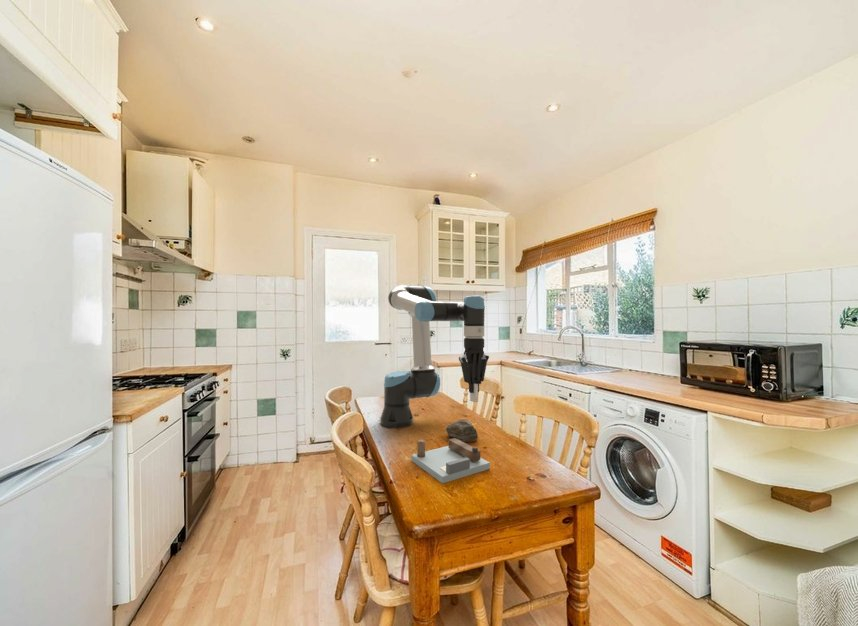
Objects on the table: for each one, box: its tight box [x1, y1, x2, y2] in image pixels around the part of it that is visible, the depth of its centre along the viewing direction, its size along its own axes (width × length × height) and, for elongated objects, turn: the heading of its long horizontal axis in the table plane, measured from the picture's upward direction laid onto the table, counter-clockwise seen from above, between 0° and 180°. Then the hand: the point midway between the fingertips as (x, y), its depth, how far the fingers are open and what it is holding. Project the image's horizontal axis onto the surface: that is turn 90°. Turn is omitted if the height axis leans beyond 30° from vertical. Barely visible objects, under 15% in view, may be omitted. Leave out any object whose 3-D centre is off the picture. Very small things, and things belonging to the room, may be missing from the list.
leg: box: [447, 437, 481, 462], centre depth 120 cm, size 14×3×4 cm, turn 32°
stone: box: [445, 418, 478, 443], centre depth 143 cm, size 14×10×10 cm
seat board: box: [410, 439, 491, 484], centre depth 117 cm, size 19×19×7 cm
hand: (474, 401), depth 128 cm, fingers closed
